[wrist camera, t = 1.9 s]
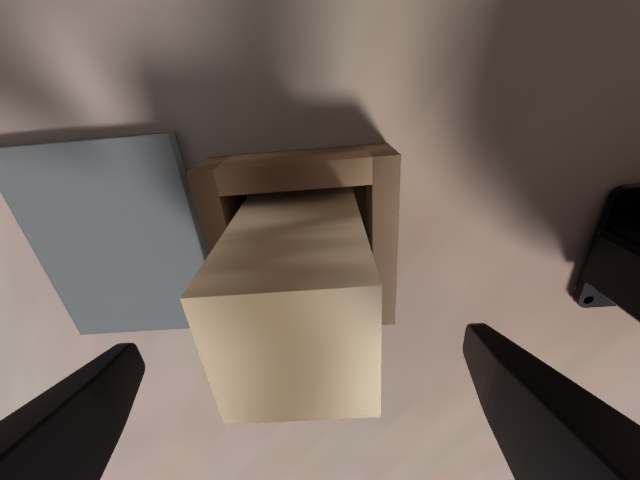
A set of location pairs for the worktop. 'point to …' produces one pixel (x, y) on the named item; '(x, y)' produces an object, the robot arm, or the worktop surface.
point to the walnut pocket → (304, 174)
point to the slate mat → (109, 227)
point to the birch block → (290, 311)
